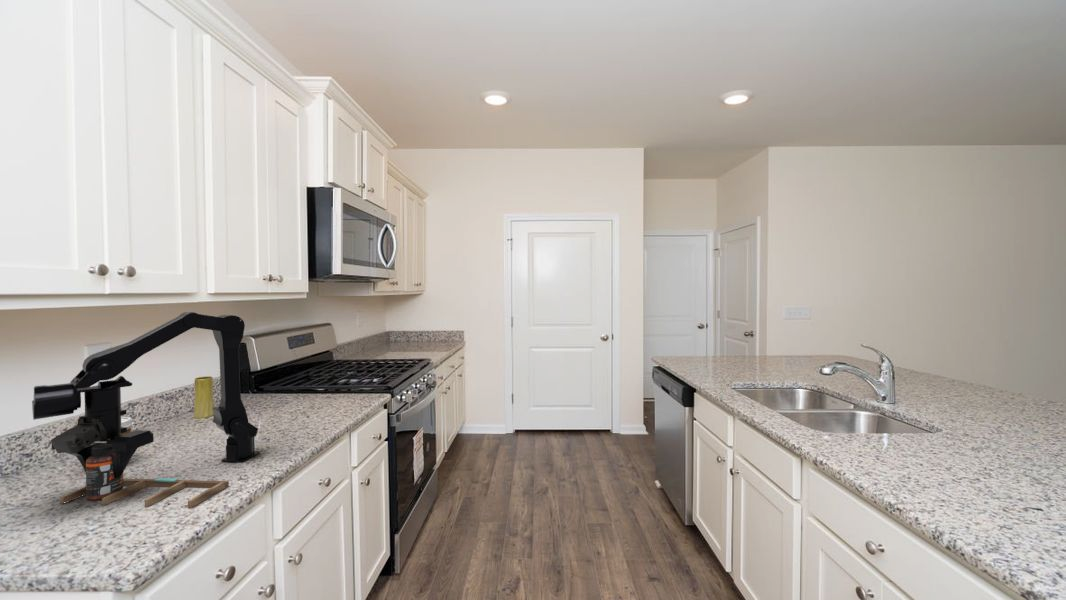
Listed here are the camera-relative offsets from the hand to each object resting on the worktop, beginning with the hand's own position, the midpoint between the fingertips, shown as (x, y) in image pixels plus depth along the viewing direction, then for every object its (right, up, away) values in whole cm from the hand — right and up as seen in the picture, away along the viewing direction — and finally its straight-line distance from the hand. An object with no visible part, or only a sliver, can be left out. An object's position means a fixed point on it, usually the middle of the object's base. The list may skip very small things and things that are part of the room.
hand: (104, 477), depth 95 cm
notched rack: (+10, -4, -1) cm, 11 cm away
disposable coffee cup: (-14, -4, +15) cm, 21 cm away
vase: (-25, -3, +61) cm, 66 cm away
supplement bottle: (0, -4, 0) cm, 4 cm away
